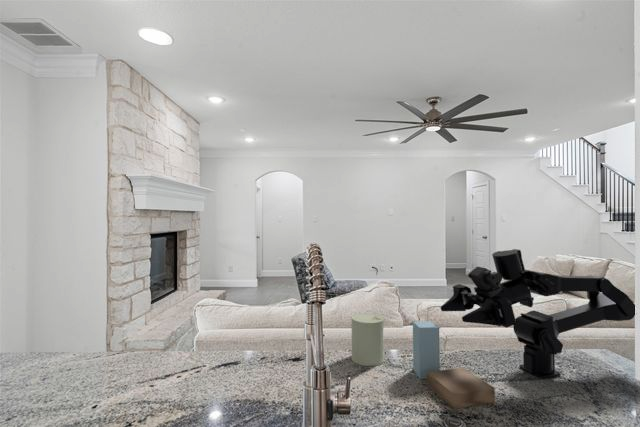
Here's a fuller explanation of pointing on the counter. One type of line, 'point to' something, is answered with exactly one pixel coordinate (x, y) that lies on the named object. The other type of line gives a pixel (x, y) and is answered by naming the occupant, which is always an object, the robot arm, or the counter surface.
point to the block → (425, 348)
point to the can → (367, 339)
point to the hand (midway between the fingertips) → (451, 314)
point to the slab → (460, 387)
